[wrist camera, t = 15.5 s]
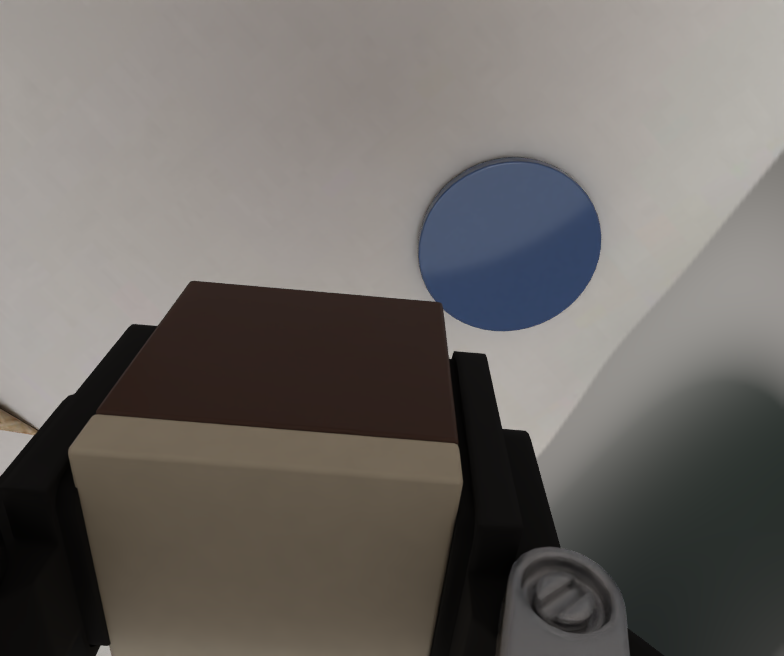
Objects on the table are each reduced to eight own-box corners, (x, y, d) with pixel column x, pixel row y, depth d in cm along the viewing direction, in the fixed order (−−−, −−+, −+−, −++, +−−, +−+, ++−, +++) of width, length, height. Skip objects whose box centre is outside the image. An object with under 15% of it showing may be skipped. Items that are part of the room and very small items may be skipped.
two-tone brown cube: (190, 278, 11) (63, 449, 7) (442, 301, 11) (465, 482, 7) (204, 457, 13) (112, 670, 9) (418, 474, 13) (424, 692, 9)
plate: (427, 149, 26) (428, 153, 25) (616, 164, 26) (622, 169, 25) (410, 317, 30) (410, 325, 29) (575, 329, 30) (579, 337, 29)
